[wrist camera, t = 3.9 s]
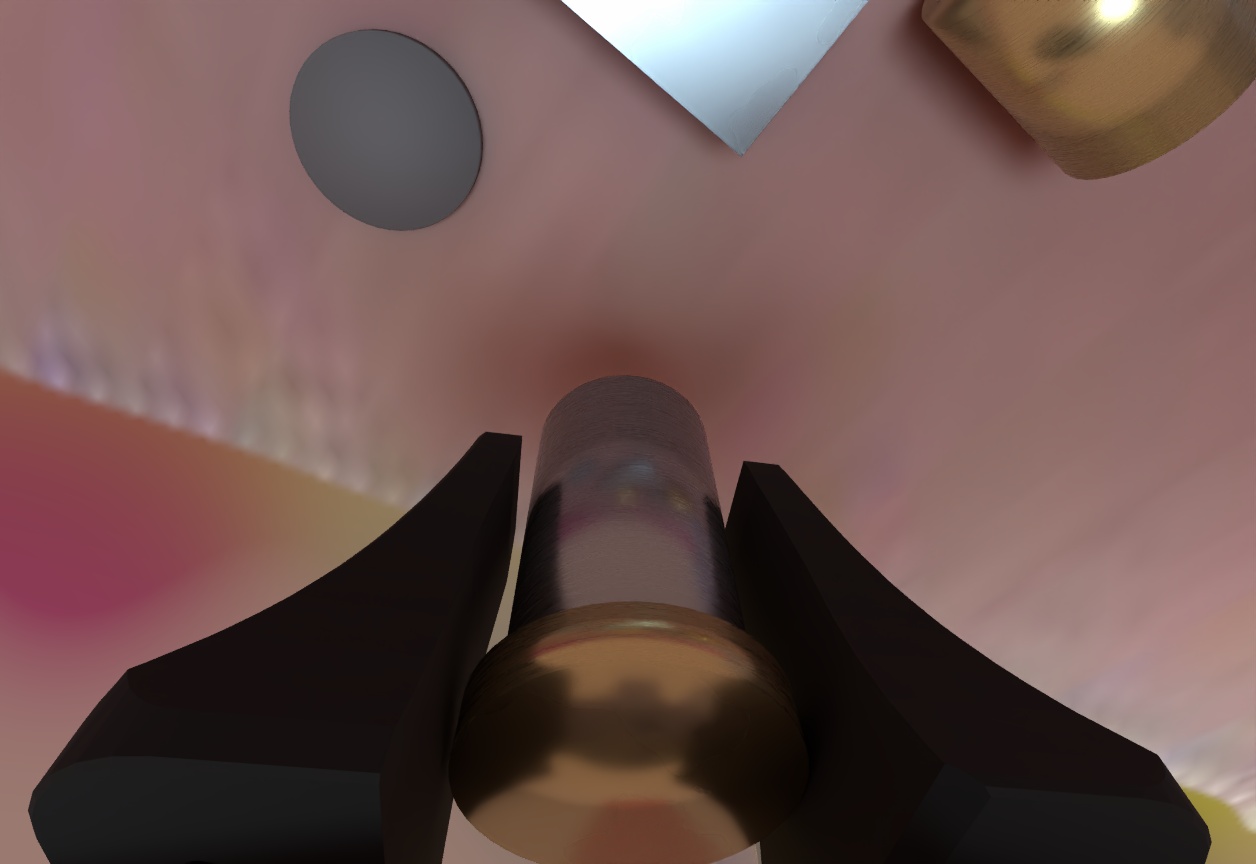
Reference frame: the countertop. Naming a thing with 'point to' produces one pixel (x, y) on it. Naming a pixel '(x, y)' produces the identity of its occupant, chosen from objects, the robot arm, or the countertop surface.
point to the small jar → (626, 657)
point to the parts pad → (386, 129)
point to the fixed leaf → (1104, 70)
